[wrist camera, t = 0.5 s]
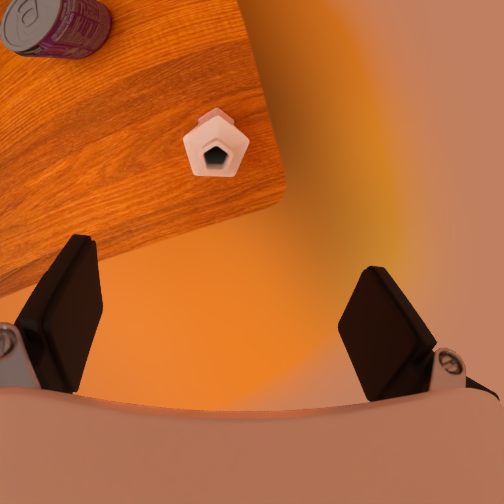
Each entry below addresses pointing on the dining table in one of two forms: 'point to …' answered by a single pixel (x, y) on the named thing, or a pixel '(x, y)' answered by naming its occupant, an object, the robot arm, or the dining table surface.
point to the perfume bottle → (215, 145)
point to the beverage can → (55, 27)
